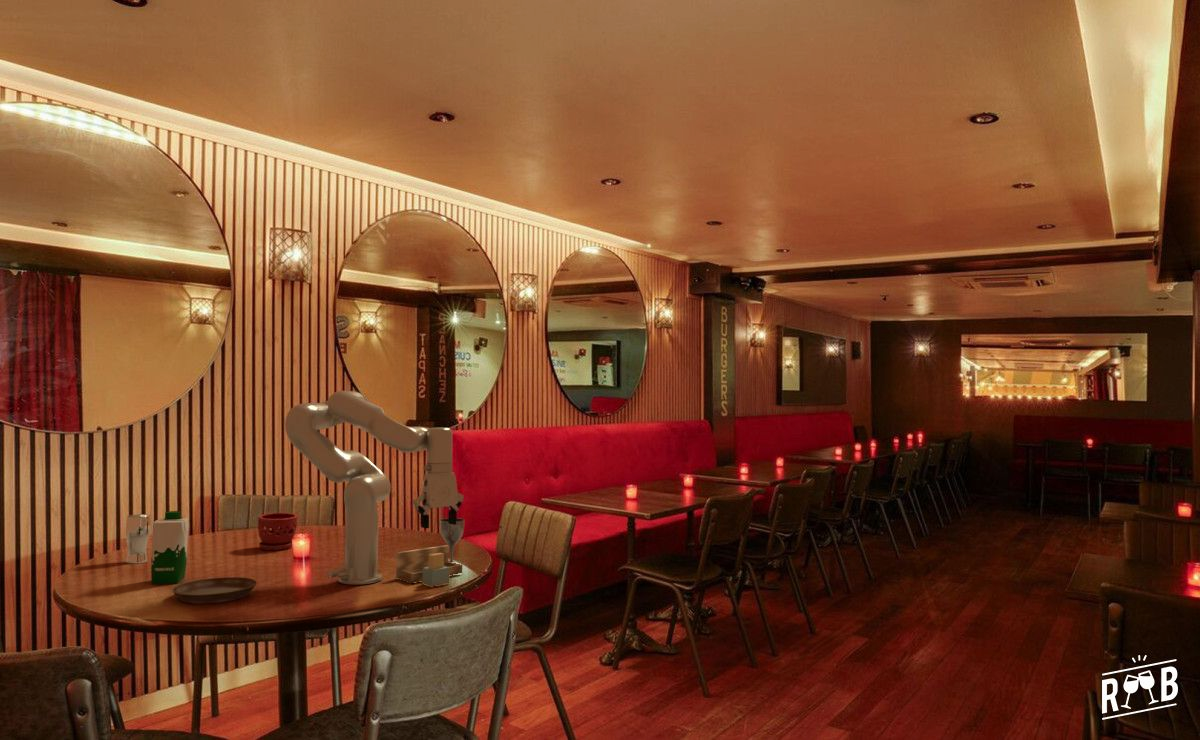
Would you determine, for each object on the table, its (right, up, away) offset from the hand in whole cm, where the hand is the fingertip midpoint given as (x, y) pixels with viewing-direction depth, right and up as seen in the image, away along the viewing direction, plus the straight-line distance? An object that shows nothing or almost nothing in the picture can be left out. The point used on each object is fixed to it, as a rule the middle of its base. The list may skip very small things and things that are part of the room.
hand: (438, 525), depth 224 cm
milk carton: (-79, -16, -3) cm, 81 cm away
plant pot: (-69, -18, +48) cm, 86 cm away
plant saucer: (-58, -16, -18) cm, 63 cm away
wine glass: (-1, -19, +26) cm, 32 cm away
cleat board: (-5, -18, +8) cm, 20 cm away
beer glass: (-104, -16, +21) cm, 107 cm away
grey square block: (-1, -17, -1) cm, 17 cm away
